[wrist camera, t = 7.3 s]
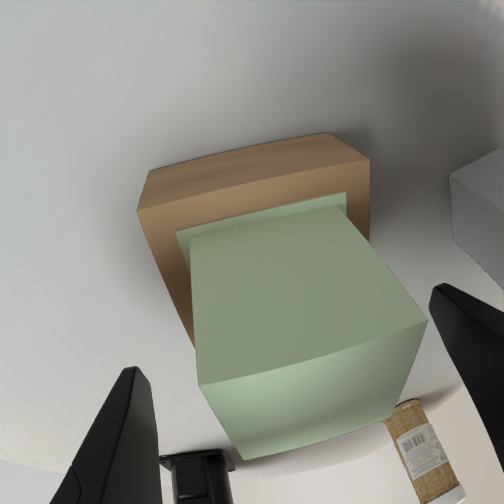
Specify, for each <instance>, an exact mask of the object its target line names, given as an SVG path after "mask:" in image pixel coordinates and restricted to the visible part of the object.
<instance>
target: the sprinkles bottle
mask: <svg viewBox="0 0 504 504" xmlns="http://www.w3.org/2000/svg"><path fill="white" fill-rule="evenodd" d="M383 422H384V424H385V425H386V426H387V428H388V431H389V433H390V435H391V437H392V439H393V442H394V445H395V448H396V450H397V452H398V455H399V457H400V459H401V461H402V464H403V466H404V468H405V469H406V471H407V474H408V476H409V478H410V480H411V482H412V485H413V487H414V489H415V491H416V494H417V496H418V498H419V500H420V504H459V503H461V502H462V501H463V500H464V499H465V498H466V493H465V491H464V489H463V486H462V485H461V484H459V483H460V482H459V481H457V478H456V476H455V474H454V471H453V470H452V468H451V465H450V463H449V460H448V458H447V456H446V454H445V452H444V450H443V448H442V446H441V444H440V442H439V440H438V438H437V436H436V434H435V432H434V430H433V428H432V426H431V424H430V423H429V421H428V419H427V417H426V416H425V413H424V412H423V410H422V408H421V406H420V402H419V401H418V400H410V401H407V402H405V403H402V404H400V405H398V406H397V407H395V408H394V410H393V412H392V415H391V417H389V418H386V419H384V420H383Z"/></svg>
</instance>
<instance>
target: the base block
mask: <svg viewBox="0 0 504 504" xmlns="http://www.w3.org/2000/svg"><path fill="white" fill-rule="evenodd" d="M333 205H337V206H338V208H339V209H340V210H341V211H342V212H343V213H344V214H345V216H346V217H347V218H348V219H349V220H350V221H351V222H352V224H353V225H354V226H355V227H356V228H357V229H358V231H359V232H360V233H361V234H362V235H363V237H364V238H365V239H366V240H367V241H368V242H369V221H370V159H369V158H367V157H366V156H364V155H363V154H361V153H360V152H358V151H357V150H355V149H353V148H352V147H350V146H349V145H347V144H346V143H344V142H342V141H341V140H339V139H338V138H336V137H334V136H333V135H331V134H330V133H328V132H327V133H321V134H314V135H308V136H302V137H296V138H291V139H285V140H280V141H274V142H269V143H264V144H259V145H254V146H249V147H245V148H240V149H235V150H231V151H226V152H222V153H218V154H213V155H209V156H205V157H201V158H197V159H193V160H189V161H185V162H181V163H178V164H174V165H170V166H166V167H163V168H159V169H156V170H152V171H149V173H148V176H147V179H146V182H145V185H144V188H143V191H142V194H141V198H140V201H139V204H138V207H137V211H136V212H137V215H138V217H139V220H140V223H141V225H142V228H143V230H144V233H145V236H146V238H147V241H148V243H149V246H150V248H151V251H152V253H153V256H154V258H155V261H156V263H157V266H158V268H159V270H160V273H161V275H162V277H163V280H164V282H165V285H166V287H167V289H168V291H169V294H170V296H171V298H172V301H173V303H174V305H175V307H176V310H177V312H178V314H179V316H180V318H181V321H182V323H183V325H184V327H185V329H186V331H187V334H188V336H189V338H190V340H191V342H192V344H193V346H194V348H195V338H194V323H193V306H192V287H191V264H190V238H192V237H196V236H201V235H205V234H209V233H213V232H217V231H222V230H226V229H230V228H235V227H239V226H243V225H247V224H252V223H256V222H261V221H265V220H269V219H274V218H278V217H283V216H287V215H292V214H296V213H301V212H306V211H310V210H315V209H319V208H324V207H329V206H333Z"/></svg>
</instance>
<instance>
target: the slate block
mask: <svg viewBox="0 0 504 504" xmlns="http://www.w3.org/2000/svg"><path fill="white" fill-rule="evenodd" d="M449 183H450V195H451V209H452V231H453V240H454V241H455V242H456V243H457V244H458V245H459V246H460V247H461V248H462V249H463V250H464V251H465V252H466V253H467V254H468V255H469V256H470V257H471V258H473V259H474V260H475V261H476V262H477V263H478V264H479V265H480V266H481V267H482V268H483V269H484V270H485V271H486V272H487V273H488V274H489V276H490V277H491V278H492V279H493V280H494V281H495V282H496V283H497V284H498V285H499V286H500V287H501V288H502V289H503V290H504V149H502V148H498V149H496V150H494V151H493V152H491V153H489V154H487V155H485V156H483V157H481V158H479V159H477V160H475V161H474V162H472V163H470V164H468V165H466V166H464V167H462V168H460V169H458V170H456V171H454V172H452V173H451V174H449Z"/></svg>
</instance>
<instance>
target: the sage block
mask: <svg viewBox="0 0 504 504" xmlns="http://www.w3.org/2000/svg"><path fill="white" fill-rule="evenodd" d="M190 264H191V287H192V306H193V323H194V338H195V351H196V364H197V376H198V386H199V388H200V390H201V391H202V393H203V395H204V397H205V398H206V400H207V402H208V403H209V405H210V407H211V409H212V410H213V412H214V414H215V415H216V417H217V419H218V420H219V422H220V423H221V425H222V427H223V428H224V430H225V432H226V433H227V435H228V436H229V438H230V440H231V441H232V443H233V444H234V446H235V447H236V449H237V450H238V452H239V454H240V455H241V457H242V458H243V460H248V459H253V458H258V457H262V456H267V455H271V454H276V453H280V452H284V451H288V450H292V449H296V448H300V447H303V446H307V445H310V444H314V443H317V442H321V441H324V440H327V439H330V438H334V437H337V436H340V435H343V434H346V433H349V432H352V431H355V430H357V429H360V428H363V427H366V426H368V425H371V424H374V423H376V422H379V421H381V420H384V419H386V418H389V417H391V415H392V412H393V410H394V408H395V406H396V404H397V401H398V399H399V397H400V394H401V392H402V390H403V387H404V385H405V383H406V380H407V378H408V375H409V373H410V370H411V368H412V365H413V362H414V360H415V357H416V354H417V352H418V349H419V346H420V343H421V340H422V338H423V335H424V332H425V329H426V326H427V322H428V318H427V317H426V315H425V314H424V313H423V311H422V310H421V309H420V307H419V306H418V305H417V303H416V302H415V301H414V299H413V298H412V297H411V295H410V294H409V293H408V291H407V290H406V289H405V287H404V286H403V285H402V284H401V282H400V281H399V280H398V278H397V277H396V276H395V275H394V273H393V272H392V271H391V269H390V268H389V267H388V266H387V264H386V263H385V262H384V261H383V260H382V258H381V257H380V256H379V255H378V253H377V252H376V251H375V250H374V248H373V247H372V246H371V245H370V244H369V242H368V241H367V240H366V239H365V238H364V237H363V235H362V234H361V233H360V232H359V231H358V229H357V228H356V227H355V226H354V225H353V224H352V222H351V221H350V220H349V219H348V218H347V217H346V216H345V214H344V213H343V212H342V211H341V210H340V209H339V208H338V206H337V205H333V206H329V207H324V208H319V209H315V210H310V211H306V212H301V213H296V214H292V215H287V216H283V217H278V218H274V219H269V220H265V221H261V222H256V223H252V224H247V225H243V226H239V227H235V228H230V229H226V230H222V231H217V232H213V233H209V234H205V235H201V236H196V237H192V238H190Z"/></svg>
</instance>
